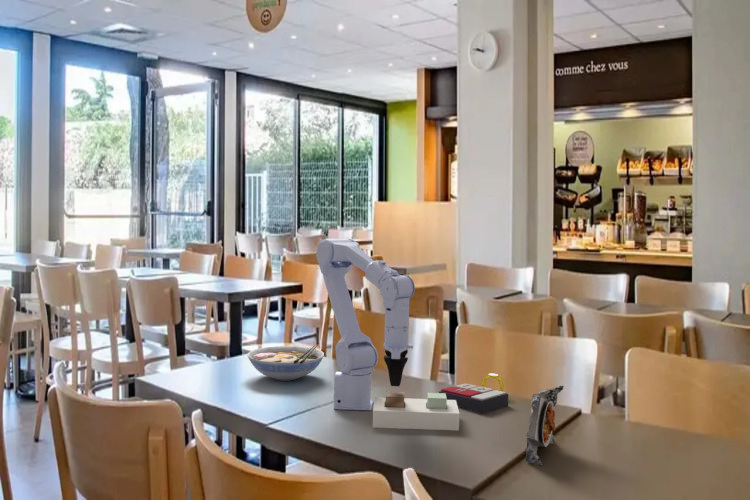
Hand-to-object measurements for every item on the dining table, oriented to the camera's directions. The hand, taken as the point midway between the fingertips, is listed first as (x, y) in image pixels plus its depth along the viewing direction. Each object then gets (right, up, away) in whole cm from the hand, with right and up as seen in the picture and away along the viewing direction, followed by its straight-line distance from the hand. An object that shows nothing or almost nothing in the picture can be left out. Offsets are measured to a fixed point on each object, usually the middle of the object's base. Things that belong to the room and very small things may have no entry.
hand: (395, 382), depth 161 cm
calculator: (+21, -10, +17) cm, 29 cm away
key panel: (+5, -10, 0) cm, 11 cm away
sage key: (+10, -7, 0) cm, 12 cm away
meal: (+31, -12, -19) cm, 38 cm away
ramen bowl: (-31, -7, +39) cm, 51 cm away
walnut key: (0, -6, 0) cm, 6 cm away
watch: (+28, -9, +25) cm, 38 cm away
